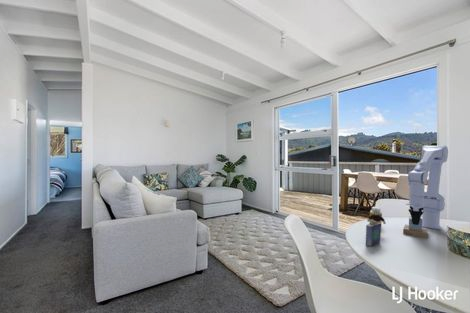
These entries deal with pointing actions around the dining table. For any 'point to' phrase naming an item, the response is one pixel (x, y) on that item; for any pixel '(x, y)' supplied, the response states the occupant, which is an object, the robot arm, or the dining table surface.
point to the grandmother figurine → (376, 216)
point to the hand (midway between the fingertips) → (415, 222)
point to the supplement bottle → (373, 213)
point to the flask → (373, 233)
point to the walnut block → (415, 232)
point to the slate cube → (415, 227)
